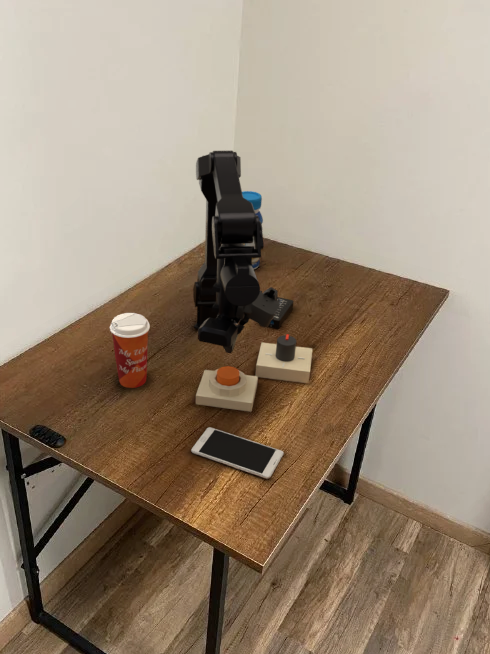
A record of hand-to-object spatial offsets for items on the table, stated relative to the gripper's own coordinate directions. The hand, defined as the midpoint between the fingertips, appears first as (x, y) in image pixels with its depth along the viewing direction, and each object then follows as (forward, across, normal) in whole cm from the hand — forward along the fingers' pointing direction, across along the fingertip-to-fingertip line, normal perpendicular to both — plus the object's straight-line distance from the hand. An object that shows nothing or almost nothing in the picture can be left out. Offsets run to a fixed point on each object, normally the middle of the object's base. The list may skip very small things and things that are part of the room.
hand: (229, 352), depth 120 cm
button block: (+10, 0, 0) cm, 10 cm away
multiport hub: (+10, +34, -1) cm, 36 cm away
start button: (+6, 0, 0) cm, 6 cm away
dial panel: (+10, +13, -8) cm, 19 cm away
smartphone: (+10, -16, -8) cm, 20 cm away
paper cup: (+10, -3, +20) cm, 22 cm away
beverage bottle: (+10, +58, +16) cm, 61 cm away
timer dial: (+7, +13, -8) cm, 17 cm away
